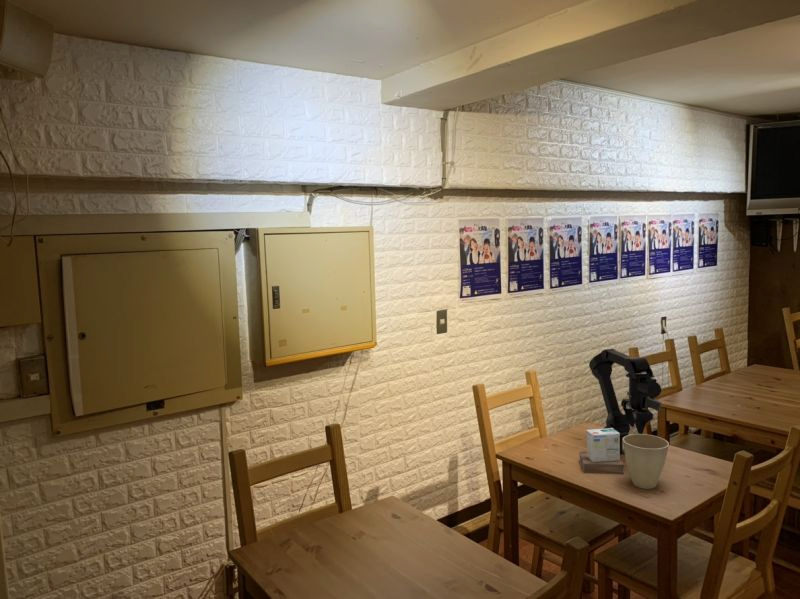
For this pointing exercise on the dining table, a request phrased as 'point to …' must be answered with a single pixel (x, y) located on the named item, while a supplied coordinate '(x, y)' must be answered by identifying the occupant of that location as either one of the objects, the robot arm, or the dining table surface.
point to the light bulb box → (603, 445)
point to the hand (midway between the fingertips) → (636, 430)
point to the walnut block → (601, 465)
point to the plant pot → (645, 458)
